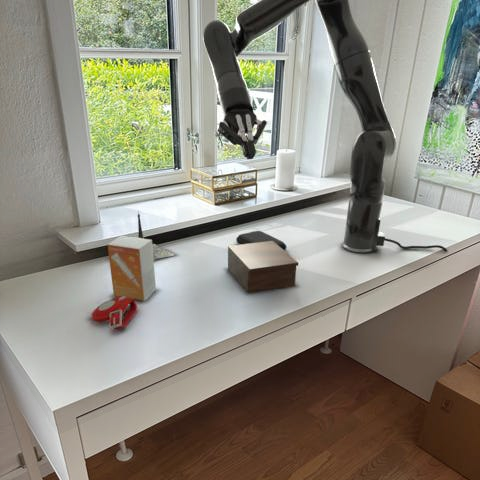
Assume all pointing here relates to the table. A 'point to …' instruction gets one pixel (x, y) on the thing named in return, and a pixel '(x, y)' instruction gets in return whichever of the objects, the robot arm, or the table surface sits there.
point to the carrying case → (258, 238)
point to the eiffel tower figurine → (157, 250)
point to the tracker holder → (115, 312)
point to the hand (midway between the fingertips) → (250, 157)
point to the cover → (262, 256)
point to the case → (261, 276)
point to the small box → (132, 267)
